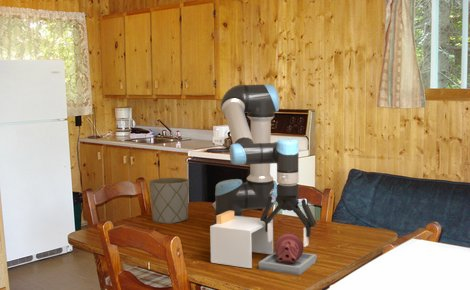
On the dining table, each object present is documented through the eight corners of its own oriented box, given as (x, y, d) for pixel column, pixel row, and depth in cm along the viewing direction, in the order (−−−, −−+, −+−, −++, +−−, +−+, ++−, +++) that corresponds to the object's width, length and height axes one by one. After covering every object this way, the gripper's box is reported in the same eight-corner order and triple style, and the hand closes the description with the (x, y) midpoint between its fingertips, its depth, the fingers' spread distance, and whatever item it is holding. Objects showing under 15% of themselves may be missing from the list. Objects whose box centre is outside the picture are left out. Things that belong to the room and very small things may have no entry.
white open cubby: (210, 262, 194) (210, 218, 192) (235, 249, 210) (235, 208, 209) (250, 268, 186) (250, 222, 185) (273, 253, 203) (272, 211, 202)
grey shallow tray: (258, 269, 186) (258, 262, 186) (278, 256, 201) (278, 249, 201) (299, 275, 179) (299, 267, 179) (316, 261, 194) (316, 254, 194)
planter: (169, 215, 276) (168, 176, 275) (197, 219, 265) (196, 179, 263) (142, 222, 261) (141, 181, 259) (171, 227, 250) (170, 184, 248)
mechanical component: (301, 270, 183) (301, 242, 181) (272, 269, 185) (271, 241, 183) (304, 256, 195) (304, 230, 193) (277, 255, 197) (276, 229, 195)
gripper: (250, 182, 190) (251, 241, 192) (318, 188, 178) (318, 250, 180) (259, 179, 197) (260, 236, 199) (325, 184, 185) (325, 244, 187)
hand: (287, 243), depth 190 cm, fingers open, 13 cm apart
